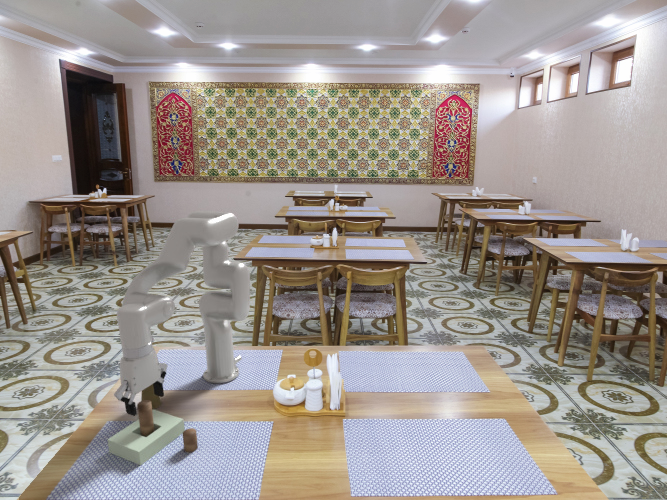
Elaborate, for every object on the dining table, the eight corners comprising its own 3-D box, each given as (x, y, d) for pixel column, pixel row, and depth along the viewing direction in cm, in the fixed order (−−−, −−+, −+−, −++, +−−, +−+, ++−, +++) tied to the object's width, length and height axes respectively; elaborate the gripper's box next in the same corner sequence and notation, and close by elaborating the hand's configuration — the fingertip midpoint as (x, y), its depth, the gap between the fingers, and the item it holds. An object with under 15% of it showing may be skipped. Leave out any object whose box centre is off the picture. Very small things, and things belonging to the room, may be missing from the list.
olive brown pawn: (154, 411, 146) (150, 379, 143) (137, 409, 147) (133, 377, 144) (164, 400, 152) (161, 370, 149) (148, 398, 153) (144, 368, 150)
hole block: (154, 421, 141) (153, 409, 140) (184, 431, 135) (183, 419, 134) (109, 452, 127) (107, 439, 126) (140, 465, 121) (139, 452, 120)
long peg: (149, 436, 133) (144, 398, 131) (158, 439, 132) (154, 401, 129) (139, 443, 130) (134, 405, 127) (148, 446, 129) (143, 408, 126)
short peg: (190, 442, 130) (189, 427, 129) (200, 446, 129) (199, 430, 128) (181, 450, 127) (179, 434, 126) (191, 454, 126) (189, 437, 124)
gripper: (152, 333, 134) (159, 386, 138) (100, 360, 119) (110, 418, 123) (172, 338, 130) (178, 391, 135) (120, 366, 115) (130, 426, 120)
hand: (146, 404), depth 129 cm, fingers open, 9 cm apart
